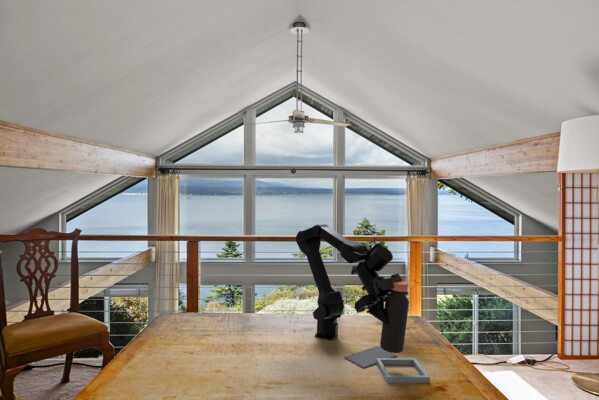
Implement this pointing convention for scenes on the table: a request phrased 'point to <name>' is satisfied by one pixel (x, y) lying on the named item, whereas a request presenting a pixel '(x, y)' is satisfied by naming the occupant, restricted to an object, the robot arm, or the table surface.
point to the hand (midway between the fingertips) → (396, 325)
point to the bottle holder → (402, 378)
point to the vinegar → (395, 319)
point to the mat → (369, 356)
